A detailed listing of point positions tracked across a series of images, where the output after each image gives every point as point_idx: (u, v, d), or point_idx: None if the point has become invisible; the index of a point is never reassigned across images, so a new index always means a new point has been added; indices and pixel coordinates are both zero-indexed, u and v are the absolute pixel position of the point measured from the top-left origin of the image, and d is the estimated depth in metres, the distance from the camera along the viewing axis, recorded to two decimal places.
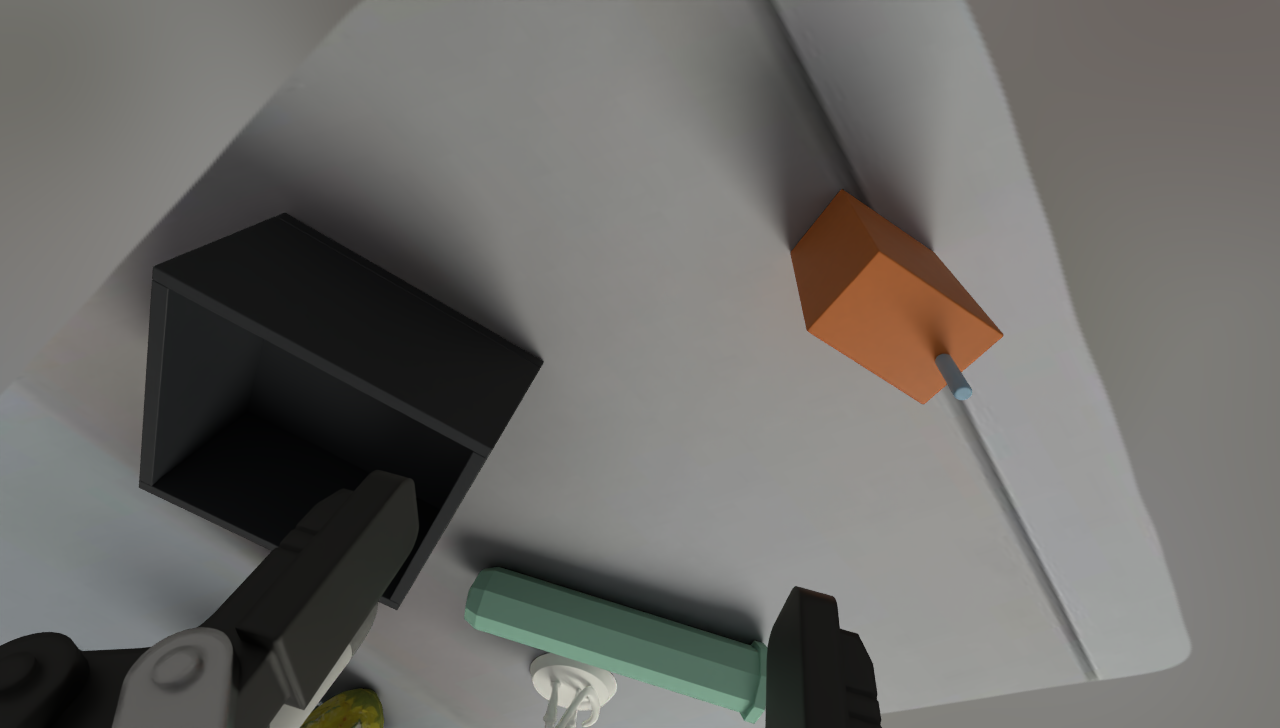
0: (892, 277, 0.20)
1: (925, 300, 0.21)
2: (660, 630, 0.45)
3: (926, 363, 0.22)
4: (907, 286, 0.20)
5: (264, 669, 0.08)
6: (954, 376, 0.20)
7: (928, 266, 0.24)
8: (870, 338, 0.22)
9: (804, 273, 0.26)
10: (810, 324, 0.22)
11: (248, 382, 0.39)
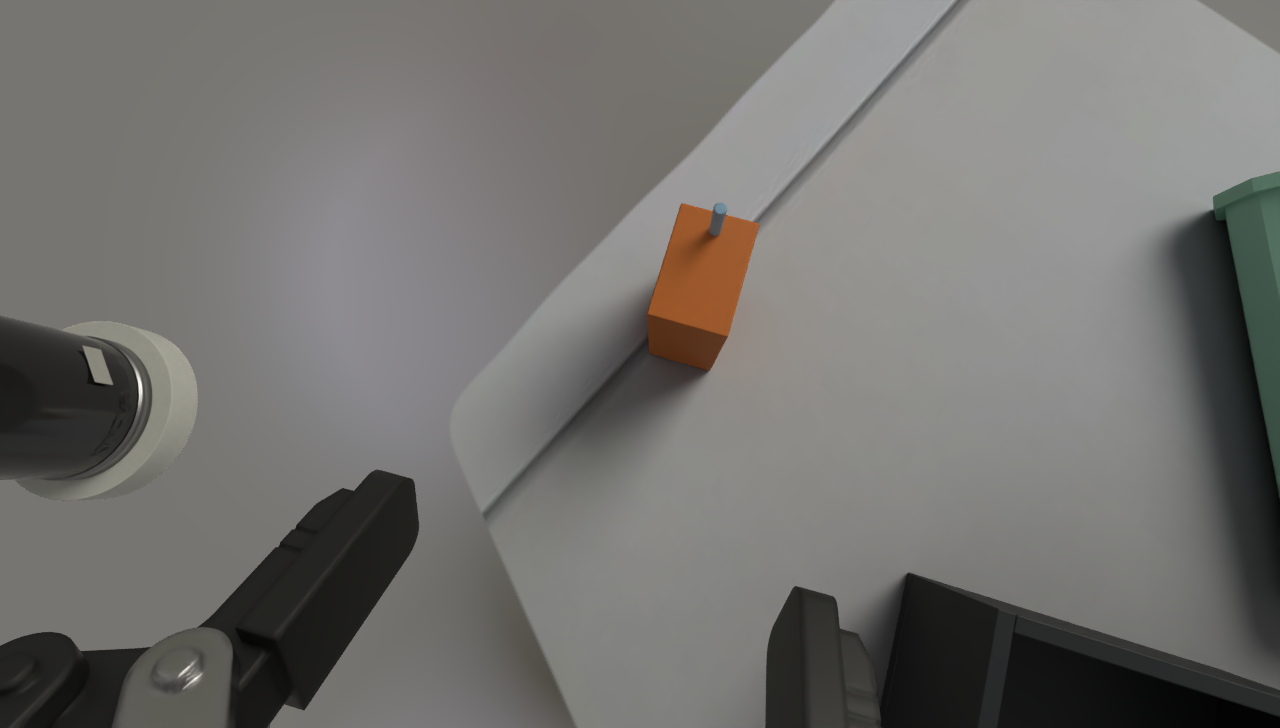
0: (663, 296, 0.27)
1: (673, 266, 0.27)
2: (1263, 336, 0.32)
3: (722, 239, 0.27)
4: (666, 283, 0.27)
5: (264, 669, 0.08)
6: (714, 219, 0.26)
7: None
8: (716, 288, 0.27)
9: (706, 354, 0.31)
10: (721, 336, 0.26)
11: None
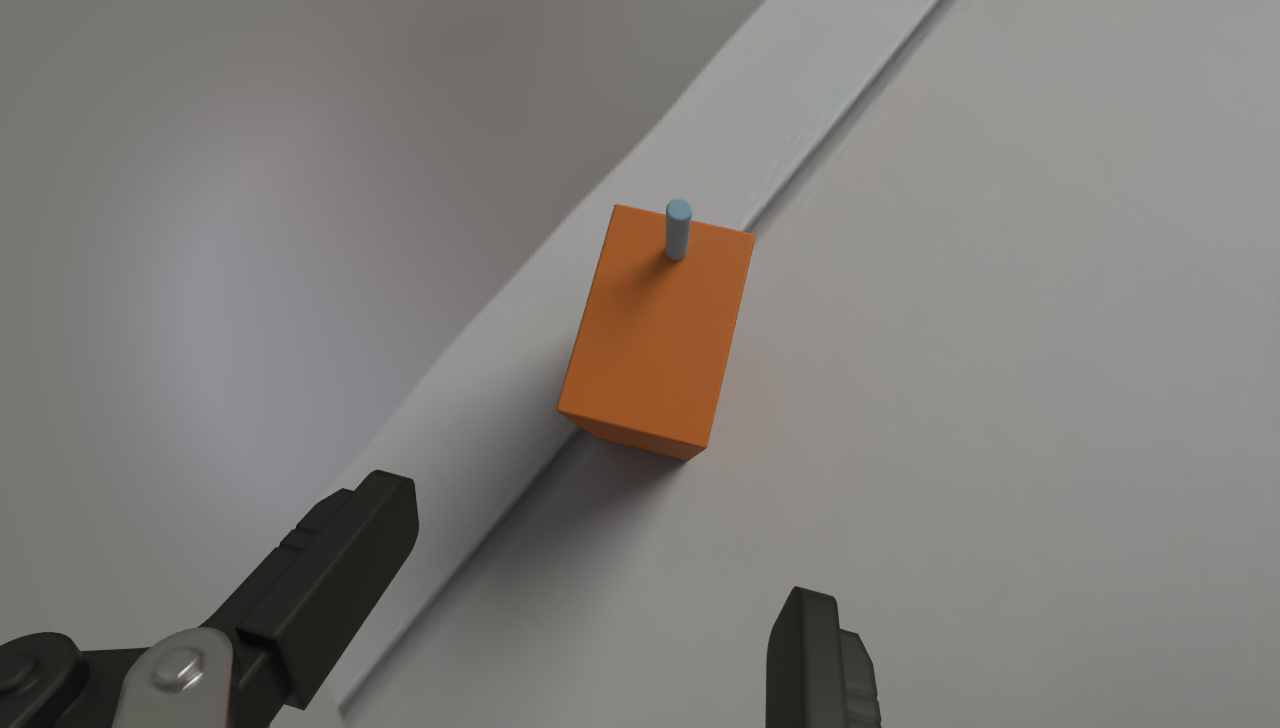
0: (585, 375, 0.14)
1: (603, 318, 0.15)
2: None
3: (690, 266, 0.15)
4: (591, 350, 0.15)
5: (264, 669, 0.08)
6: (669, 231, 0.13)
7: None
8: (683, 355, 0.15)
9: (677, 452, 0.19)
10: (695, 446, 0.14)
11: None
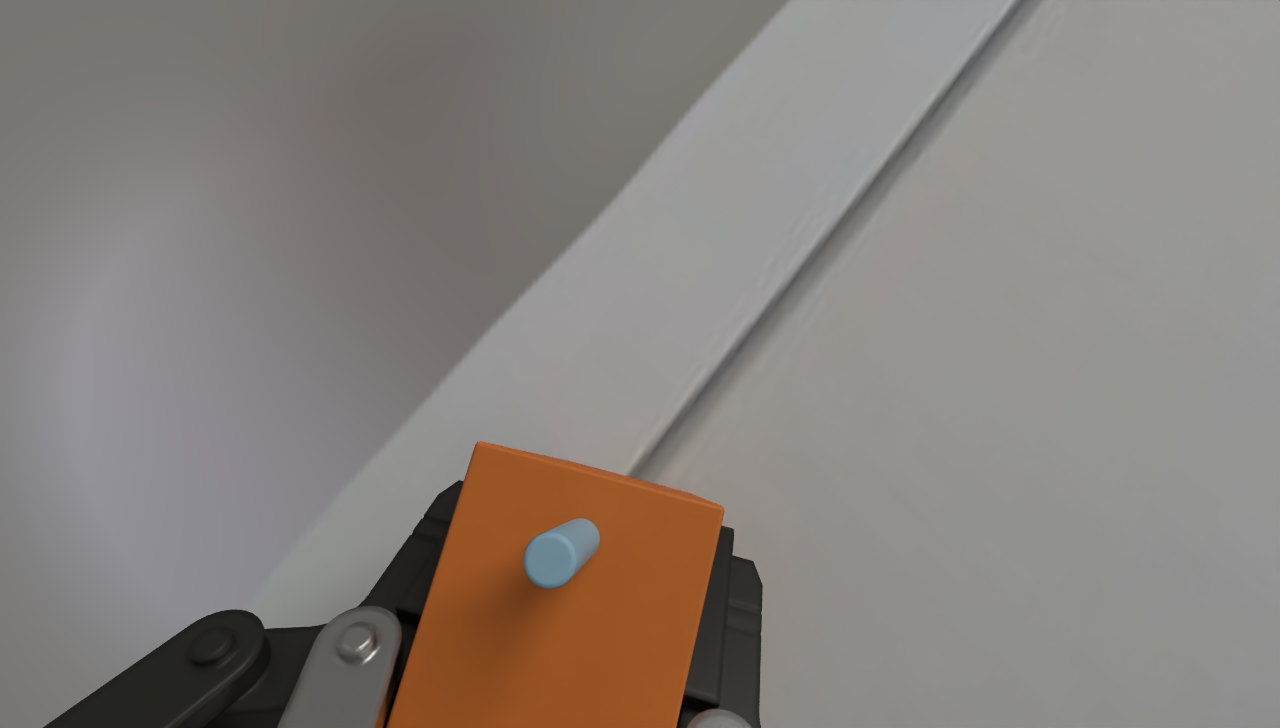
0: None
1: (441, 673, 0.08)
2: None
3: (604, 570, 0.08)
4: None
5: None
6: None
7: None
8: None
9: None
10: None
11: None
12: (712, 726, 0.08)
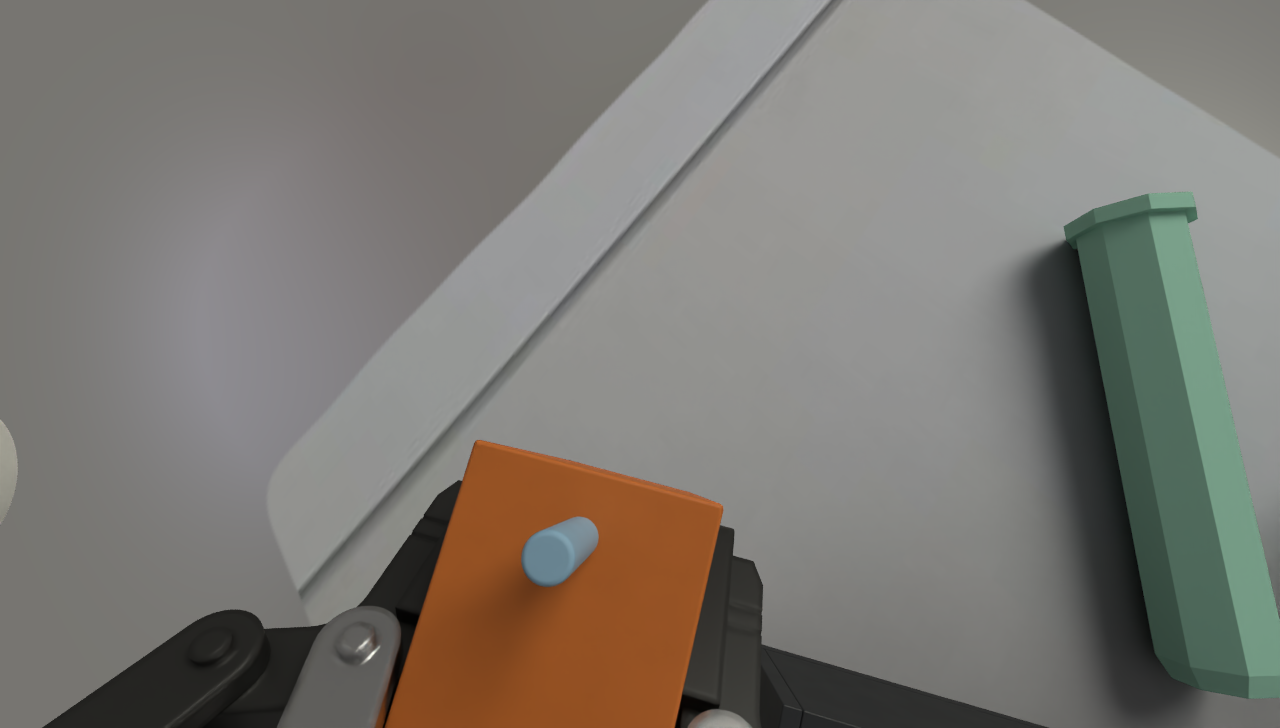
0: None
1: (440, 671, 0.08)
2: (1112, 375, 0.30)
3: (603, 568, 0.08)
4: None
5: None
6: None
7: None
8: None
9: None
10: None
11: None
12: (712, 726, 0.08)
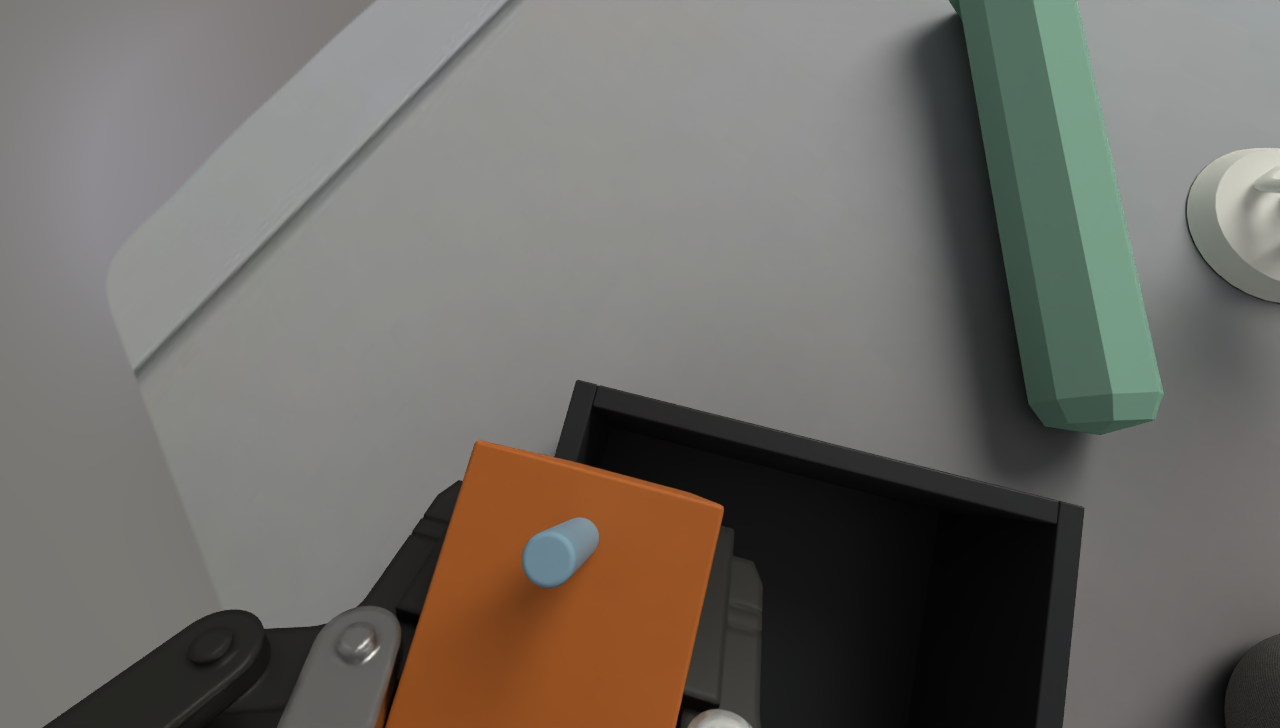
0: None
1: (439, 673, 0.08)
2: (989, 124, 0.28)
3: (604, 569, 0.08)
4: None
5: None
6: None
7: None
8: None
9: None
10: None
11: None
12: (713, 726, 0.08)
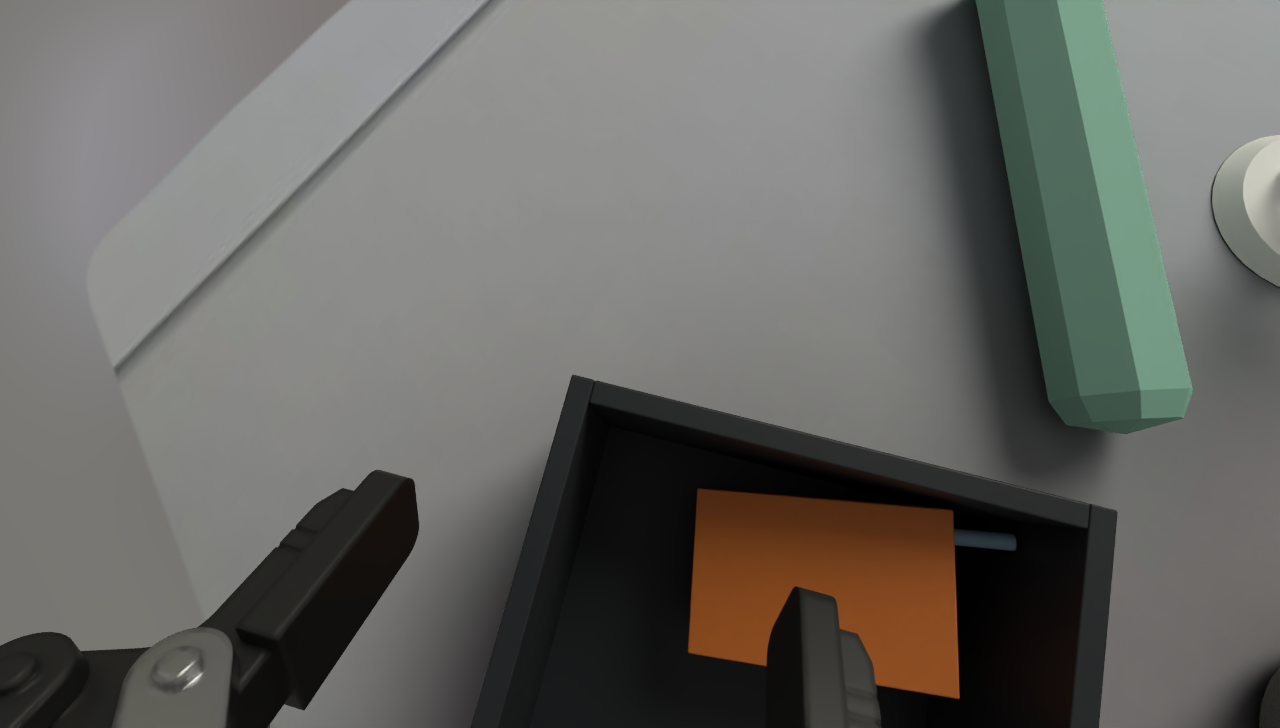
0: None
1: None
2: (1005, 109, 0.27)
3: None
4: None
5: (264, 669, 0.08)
6: (993, 548, 0.20)
7: (840, 568, 0.20)
8: None
9: None
10: None
11: None
12: None
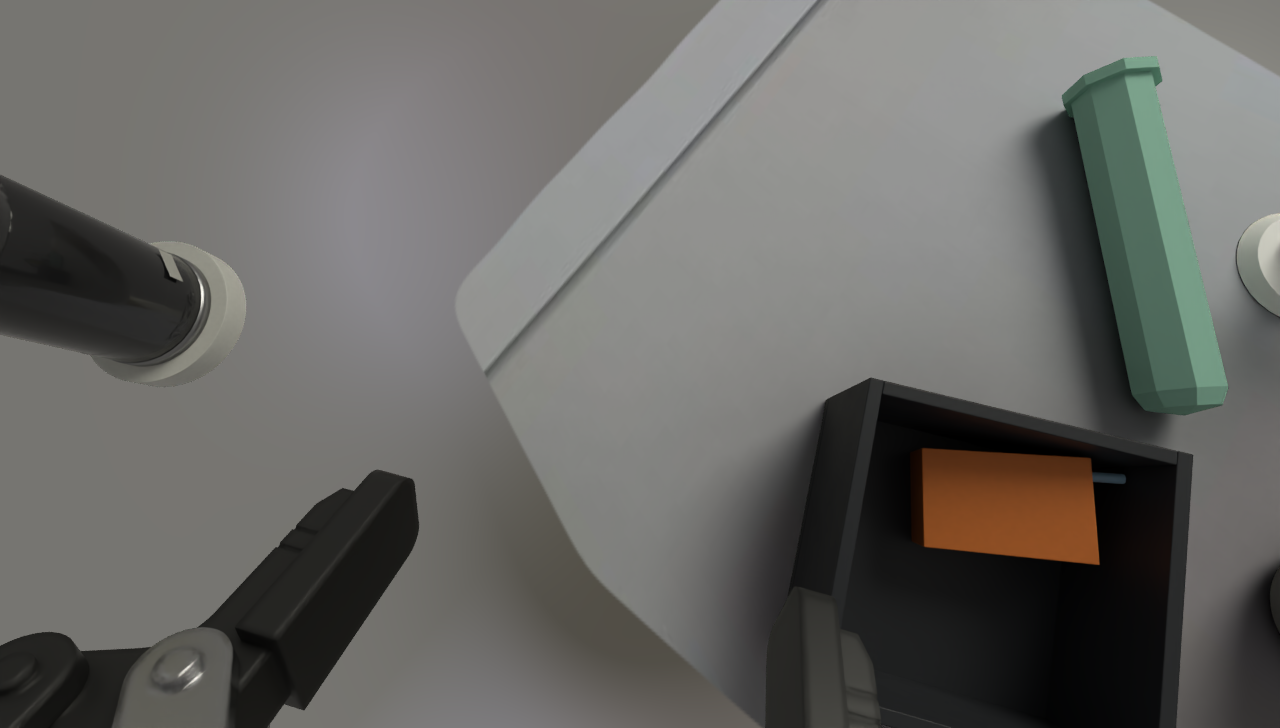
0: None
1: None
2: (1099, 198, 0.40)
3: None
4: None
5: (264, 669, 0.08)
6: (1111, 482, 0.33)
7: (1021, 493, 0.33)
8: None
9: None
10: None
11: (992, 705, 0.35)
12: None
